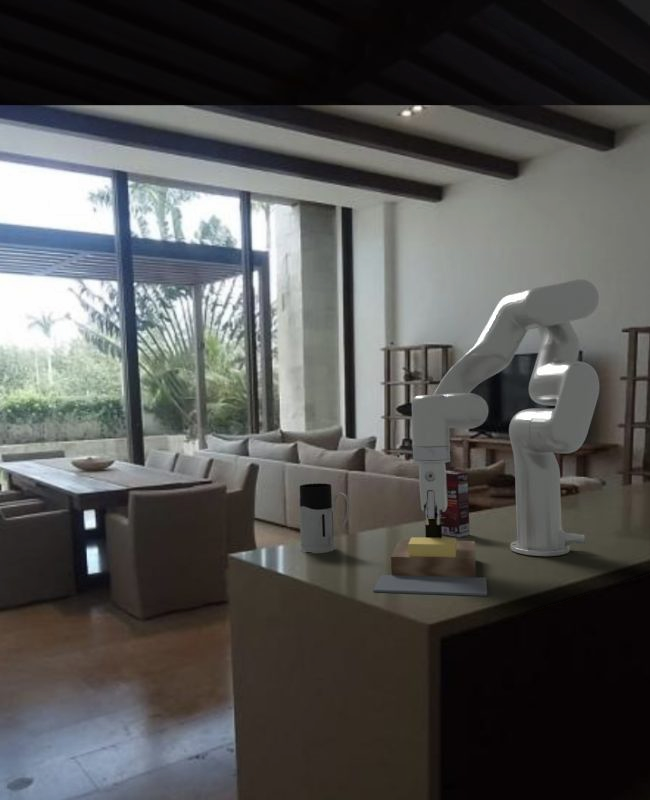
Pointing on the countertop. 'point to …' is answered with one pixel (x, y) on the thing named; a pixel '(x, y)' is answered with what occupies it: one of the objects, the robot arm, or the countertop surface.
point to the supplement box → (456, 505)
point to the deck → (434, 562)
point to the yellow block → (432, 547)
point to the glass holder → (318, 518)
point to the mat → (432, 585)
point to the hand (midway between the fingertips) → (434, 543)
